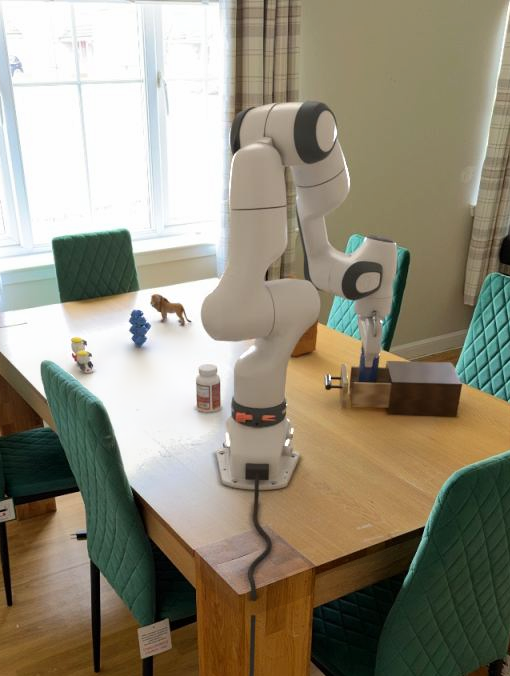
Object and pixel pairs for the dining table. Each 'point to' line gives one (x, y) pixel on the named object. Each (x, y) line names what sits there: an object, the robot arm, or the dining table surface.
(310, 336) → the coffee package
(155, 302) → the lion figurine
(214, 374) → the pill bottle
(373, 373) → the pepper mill
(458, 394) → the cabinet
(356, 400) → the drawer
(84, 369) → the toy figures
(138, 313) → the grapes
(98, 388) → the dining table surface
